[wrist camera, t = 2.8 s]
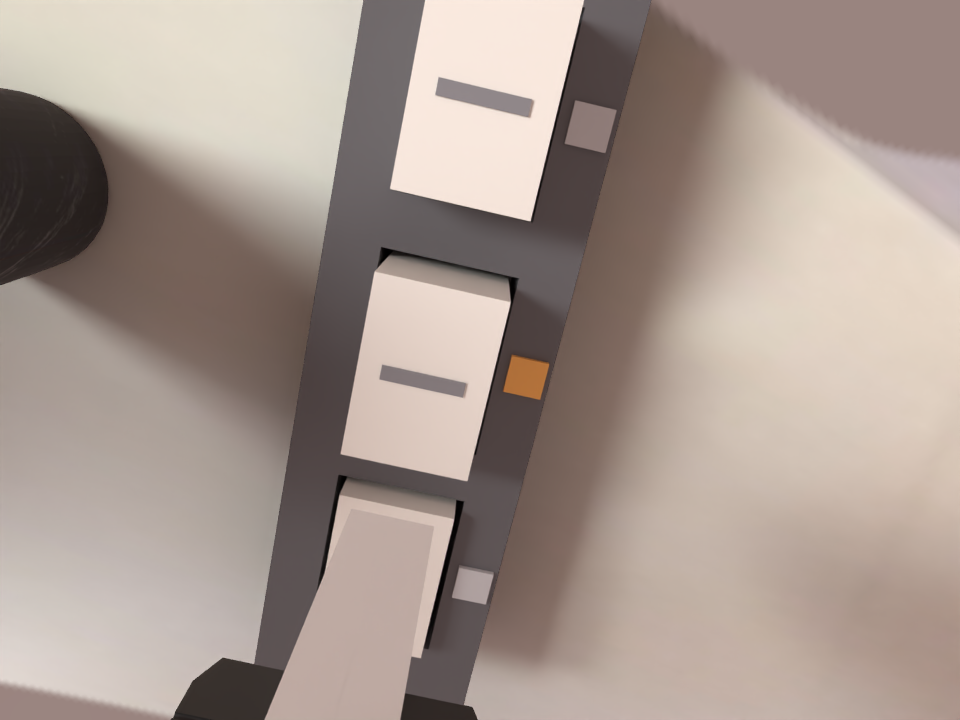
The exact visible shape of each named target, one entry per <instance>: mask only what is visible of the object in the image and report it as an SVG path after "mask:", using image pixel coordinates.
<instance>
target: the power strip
mask: <svg viewBox="0 0 960 720" xmlns="http://www.w3.org/2000/svg"><path fill="white" fill-rule="evenodd" d="M650 3H651V0H584V3H583V7H582V11H581V15H580V19H579V23H578V28H577V32H576V36H575V40H574V44H573V48H572V52H571V56H570V61H569V65H568V69H567V73H566V77H565V81H564V85H563V89H562V93H561V98H560V102H559V106H558V110H557V114H556V118H555V122H554V126H553V131H552V135H551V139H550V143H549V147H548V151H547V155H546V159H545V163H544V168H543V172H542V176H541V180H540V184H539V188H538V192H537V196H536V200H535V205H534V209H533V213H532V217H531V221H526V220H522V219H518V218H513V217H509V216H505V215H500V214H496V213H492V212H487V211H483V210H479V209H474V208H470V207H466V206H461V205H457V204H453V203H448V202H444V201H440V200H435V199H431V198H427V197H422V196H418V195H414V194H409V193H405V192H401V191H397V190H392V189H390V186H391V181H392V175H393V170H394V165H395V159H396V154H397V149H398V143H399V138H400V133H401V127H402V122H403V116H404V111H405V106H406V100H407V95H408V90H409V84H410V79H411V74H412V68H413V63H414V57H415V52H416V47H417V41H418V36H419V31H420V25H421V20H422V15H423V9H424V4H425V0H363V6H362V12H361V19H360V25H359V31H358V37H357V43H356V49H355V55H354V61H353V67H352V73H351V79H350V85H349V91H348V98H347V104H346V110H345V116H344V122H343V128H342V134H341V140H340V146H339V152H338V158H337V164H336V171H335V177H334V183H333V189H332V195H331V201H330V207H329V213H328V219H327V225H326V231H325V237H324V243H323V250H322V256H321V262H320V268H319V274H318V280H317V286H316V292H315V298H314V304H313V310H312V316H311V322H310V329H309V335H308V341H307V347H306V353H305V359H304V365H303V371H302V377H301V383H300V389H299V395H298V402H297V408H296V414H295V420H294V426H293V432H292V438H291V444H290V450H289V456H288V462H287V468H286V474H285V481H284V487H283V493H282V499H281V505H280V511H279V517H278V523H277V529H276V535H275V541H274V547H273V554H272V560H271V566H270V572H269V578H268V584H267V590H266V596H265V602H264V608H263V614H262V620H261V626H260V633H259V639H258V645H257V651H256V657H255V663H254V664H255V665H260V666H265V667H270V668H274V669H279V670H284V671H285V669H286V666H287V664H288V662H289V659H290V657H291V654H292V652H293V649H294V647H295V645H296V642H297V640H298V637H299V635H300V632H301V630H302V627H303V625H304V623H305V620H306V618H307V615H308V613H309V610H310V608H311V606H312V603H313V601H314V598H315V596H316V593H317V591H318V589H319V586H320V584H321V581H322V579H323V576H324V574H325V569H326V564H327V559H328V553H329V548H330V543H331V537H332V532H333V527H334V522H335V516H336V511H337V506H338V500H339V495H340V493H341V490H342V488H343V486H344V484H345V481H346V479H347V477H353V478H357V479H362V480H367V481H371V482H376V483H381V484H385V485H390V486H395V487H399V488H404V489H409V490H414V491H418V492H423V493H428V494H432V495H437V496H442V497H446V498H451V499H456V508H455V517H454V522H453V527H452V531H451V535H450V539H449V543H448V547H447V551H446V556H445V560H444V564H443V568H442V572H441V576H440V580H439V585H438V589H437V593H436V597H435V601H434V605H433V610H432V614H431V618H430V622H429V626H428V630H427V634H426V639H425V643H424V647H423V651H422V655H421V658H417V657H412V656H411V661H410V667H409V673H408V678H407V684H406V690H405V693H407V694H412V695H416V696H421V697H426V698H431V699H436V700H441V701H445V702H450V703H455V704H460V705H463V704H464V701H465V697H466V693H467V689H468V686H469V682H470V678H471V674H472V671H473V667H474V663H475V659H476V656H477V652H478V648H479V644H480V641H481V637H482V633H483V629H484V626H485V622H486V618H487V614H488V611H489V607H490V603H491V599H492V596H493V592H494V588H495V584H496V581H497V577H498V573H499V569H500V566H501V562H502V558H503V554H504V551H505V547H506V543H507V539H508V536H509V532H510V528H511V524H512V521H513V517H514V513H515V509H516V506H517V502H518V498H519V494H520V491H521V487H522V483H523V479H524V476H525V472H526V468H527V464H528V461H529V457H530V453H531V449H532V446H533V442H534V438H535V434H536V431H537V427H538V423H539V419H540V416H541V412H542V408H543V404H544V401H545V397H546V393H547V389H548V386H549V382H550V378H551V374H552V371H553V367H554V363H555V359H556V356H557V352H558V348H559V344H560V341H561V337H562V333H563V329H564V326H565V322H566V318H567V314H568V311H569V307H570V303H571V300H572V296H573V292H574V288H575V285H576V281H577V277H578V273H579V270H580V266H581V262H582V258H583V255H584V251H585V247H586V243H587V240H588V236H589V232H590V228H591V225H592V221H593V217H594V213H595V210H596V206H597V202H598V198H599V195H600V191H601V187H602V183H603V180H604V176H605V172H606V168H607V165H608V161H609V157H610V153H611V150H612V146H613V142H614V138H615V135H616V131H617V127H618V123H619V120H620V116H621V112H622V108H623V105H624V101H625V97H626V93H627V90H628V86H629V82H630V78H631V75H632V71H633V67H634V63H635V60H636V56H637V52H638V48H639V45H640V41H641V37H642V33H643V30H644V26H645V22H646V18H647V15H648V11H649V7H650ZM394 250H397V251H401V252H406V253H410V254H415V255H419V256H423V257H428V258H432V259H437V260H441V261H445V262H450V263H454V264H458V265H463V266H467V267H472V268H476V269H480V270H485V271H489V272H494V273H498V274H502V275H507V276H508V279H509V289H510V300H511V303H510V308H509V312H508V316H507V320H506V324H505V328H504V332H503V336H502V340H501V345H500V349H499V353H498V357H497V361H496V365H495V369H494V373H493V378H492V382H491V386H490V390H489V394H488V398H487V402H486V406H485V410H484V415H483V419H482V423H481V427H480V431H479V435H478V439H477V443H476V448H475V452H474V456H473V460H472V464H471V468H470V472H469V476H468V480H467V481H463V480H458V479H454V478H449V477H444V476H440V475H435V474H430V473H426V472H421V471H416V470H412V469H407V468H402V467H398V466H393V465H388V464H384V463H379V462H374V461H370V460H365V459H360V458H356V457H351V456H346V455H342V454H341V449H342V444H343V438H344V433H345V428H346V422H347V417H348V412H349V406H350V401H351V395H352V390H353V385H354V379H355V374H356V369H357V363H358V358H359V352H360V347H361V342H362V336H363V331H364V326H365V320H366V315H367V310H368V304H369V299H370V293H371V288H372V283H373V277H374V272H375V271H376V269H377V268H378V267H379V266H380V265H381V264H382V263H383V262H384V261H385V260H386V258H387V257H388V256H389V255H390V254H391V253H392V252H393V251H394Z"/></svg>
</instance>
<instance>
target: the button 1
mask: <svg viewBox="0 0 960 720" xmlns="http://www.w3.org/2000/svg"><path fill="white" fill-rule="evenodd" d="M455 508H456V499H451V498H446V497H442V496H437V495H432V494H428V493H423V492H418V491H414V490H409V489H404V488H399V487H395V486H390V485H385V484H381V483H376V482H371V481H367V480H362V479H357V478H353V477H347V479H346V481H345V484H344V486H343V488H342V490H341V493H340V495H339V500H338V506H337V511H336V516H335V522H334V527H333V532H332V537H331V543H330V548H329V553H328V559H327V564H326V569H327V567H328V564H329V562H330V559H331V557H332V554H333V552H334V550H335V547H336V545H337V542H338V540H339V537H340V535H341V533H342V530H343V528H344V525H345V523H346V520H347V518H348V515H349V513H350V511H351V509H355V510H360V511H365V512H369V513H374V514H378V515H383V516H388V517H392V518H397V519H402V520H406V521H411V522H415V523H420V524H425V525H429V526H434V531H433V537H432V542H431V548H430V554H429V559H428V565H427V571H426V576H425V582H424V588H423V593H422V599H421V605H420V610H419V616H418V622H417V627H416V633H415V639H414V644H413V650H412V657H417V658H421V655H422V651H423V647H424V643H425V639H426V634H427V630H428V626H429V622H430V618H431V614H432V610H433V605H434V601H435V597H436V593H437V589H438V585H439V580H440V576H441V572H442V568H443V564H444V560H445V556H446V551H447V547H448V543H449V539H450V535H451V531H452V527H453V522H454V517H455ZM326 569H325V571H326Z"/></svg>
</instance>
